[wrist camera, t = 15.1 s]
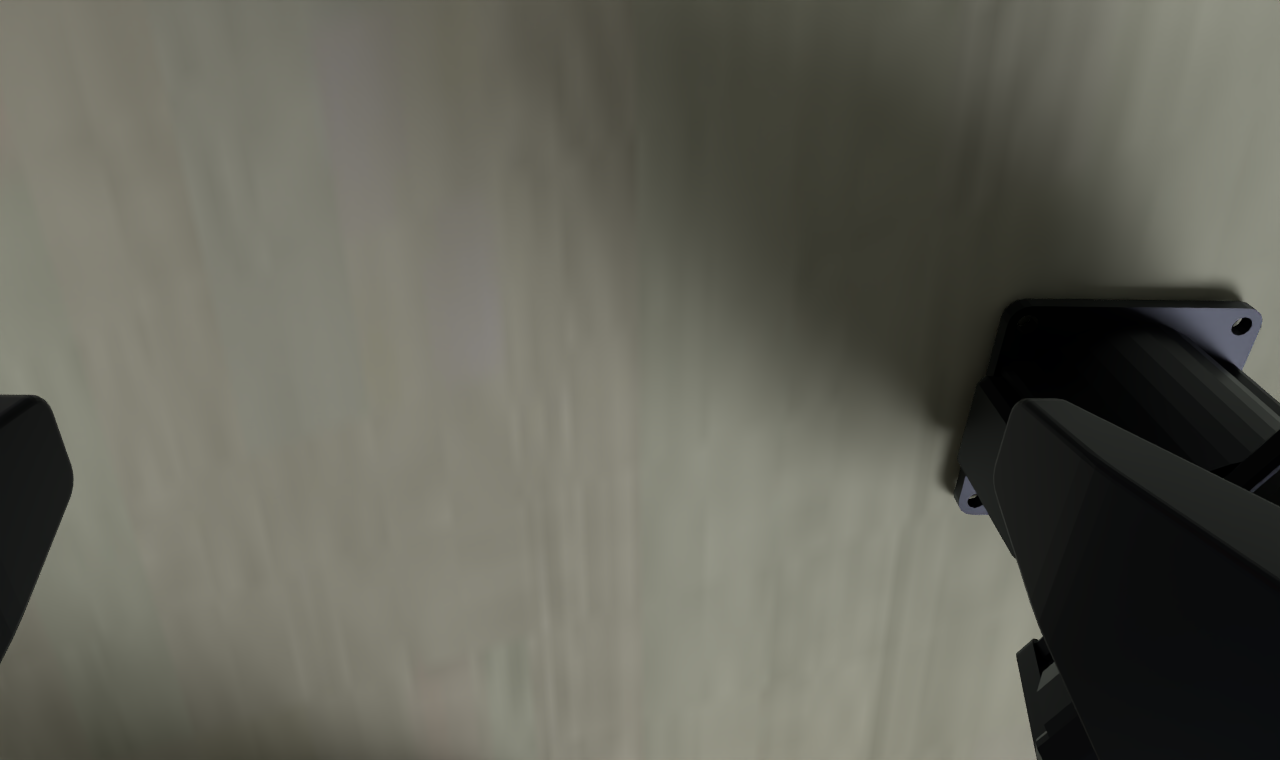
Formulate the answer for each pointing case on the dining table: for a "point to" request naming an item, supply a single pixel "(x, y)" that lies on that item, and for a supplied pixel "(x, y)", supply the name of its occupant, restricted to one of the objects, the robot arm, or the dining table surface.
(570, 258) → the dining table surface
